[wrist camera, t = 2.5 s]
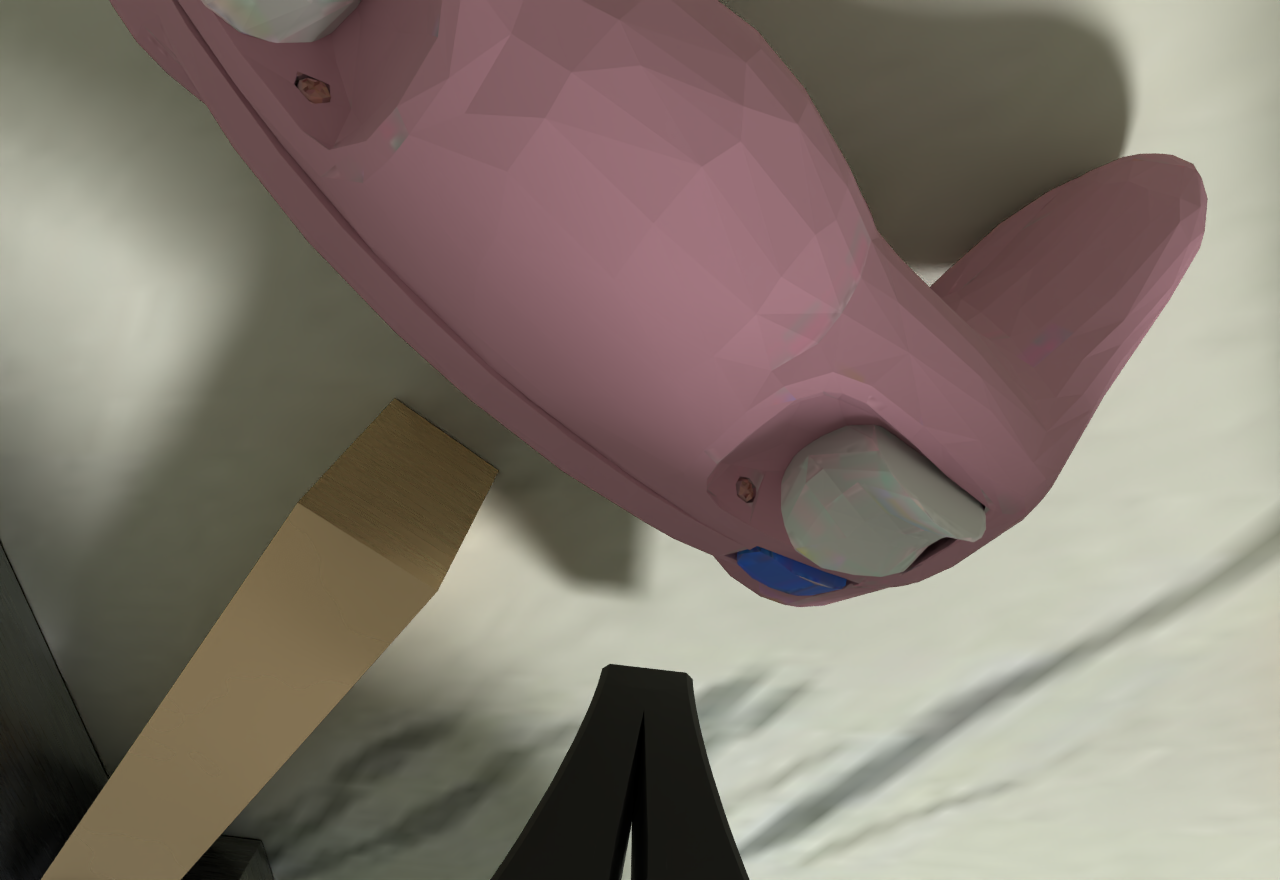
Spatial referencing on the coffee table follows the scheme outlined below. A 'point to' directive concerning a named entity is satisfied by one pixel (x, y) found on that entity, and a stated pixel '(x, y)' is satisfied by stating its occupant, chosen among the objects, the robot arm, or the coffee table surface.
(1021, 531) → the coffee table surface
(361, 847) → the coffee table surface
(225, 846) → the grey l-shaped bar
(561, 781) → the robot arm
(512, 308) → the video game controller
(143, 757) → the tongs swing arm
